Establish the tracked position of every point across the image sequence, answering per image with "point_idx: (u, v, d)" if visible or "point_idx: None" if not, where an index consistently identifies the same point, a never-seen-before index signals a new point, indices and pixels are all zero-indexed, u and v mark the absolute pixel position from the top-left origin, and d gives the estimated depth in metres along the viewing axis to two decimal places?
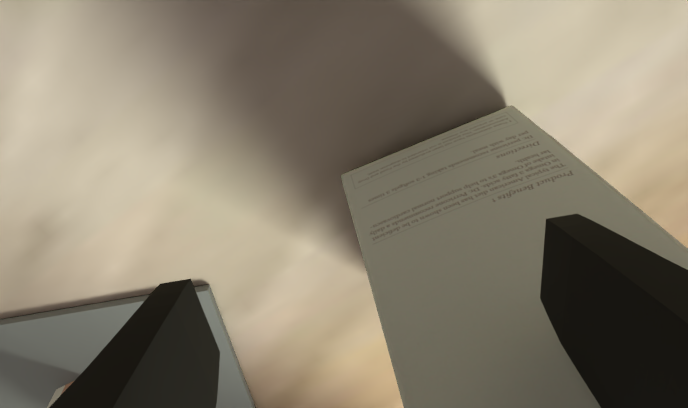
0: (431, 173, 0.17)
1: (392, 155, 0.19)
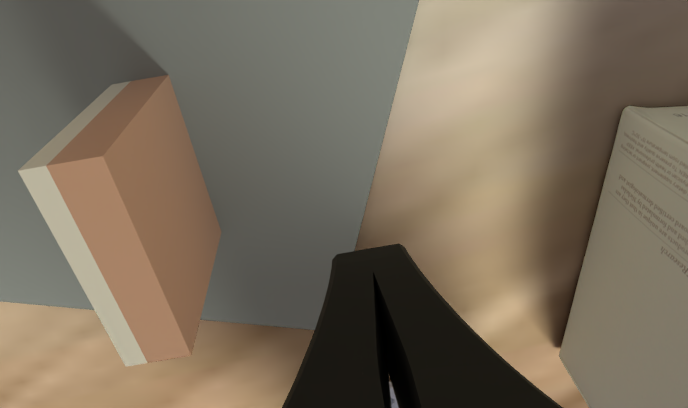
0: None
1: None
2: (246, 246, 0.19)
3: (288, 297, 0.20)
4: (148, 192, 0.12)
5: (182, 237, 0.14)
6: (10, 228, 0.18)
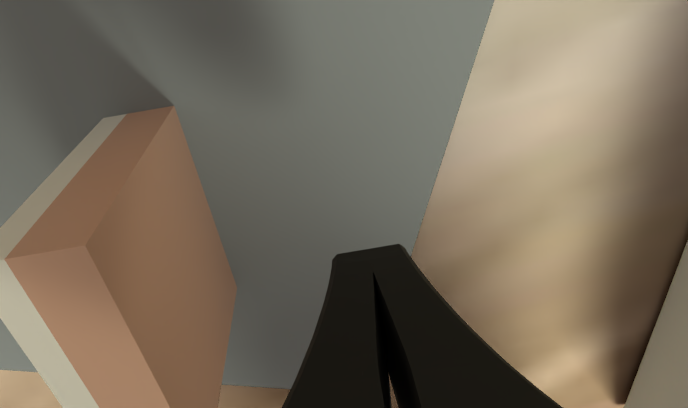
0: None
1: None
2: (267, 303, 0.16)
3: None
4: (149, 273, 0.09)
5: (193, 317, 0.11)
6: None
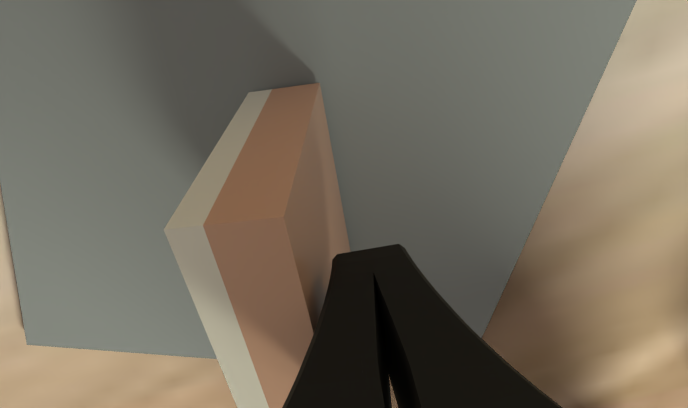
0: None
1: None
2: None
3: None
4: (314, 251, 0.09)
5: None
6: (104, 266, 0.15)
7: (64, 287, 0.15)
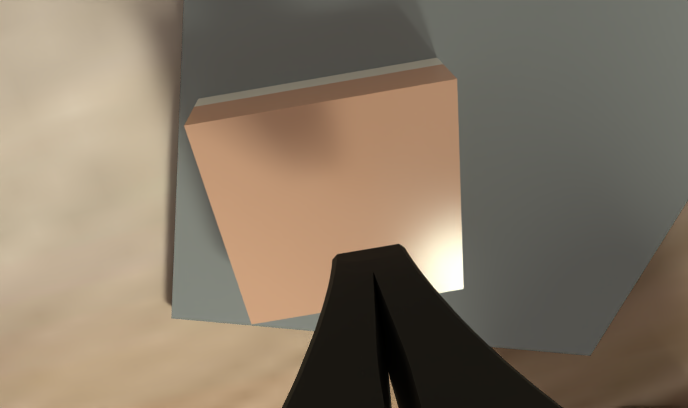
0: None
1: None
2: (528, 258, 0.16)
3: (554, 317, 0.17)
4: (265, 181, 0.12)
5: (318, 244, 0.13)
6: None
7: (219, 259, 0.15)
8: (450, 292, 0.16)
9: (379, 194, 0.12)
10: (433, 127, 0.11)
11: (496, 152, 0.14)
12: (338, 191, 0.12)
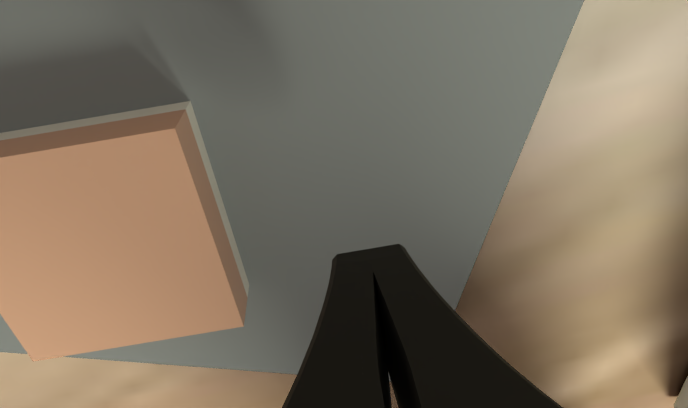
0: None
1: None
2: None
3: None
4: (5, 226, 0.12)
5: (79, 285, 0.13)
6: None
7: None
8: (263, 324, 0.16)
9: (127, 237, 0.12)
10: (164, 174, 0.11)
11: (276, 191, 0.14)
12: (84, 235, 0.12)
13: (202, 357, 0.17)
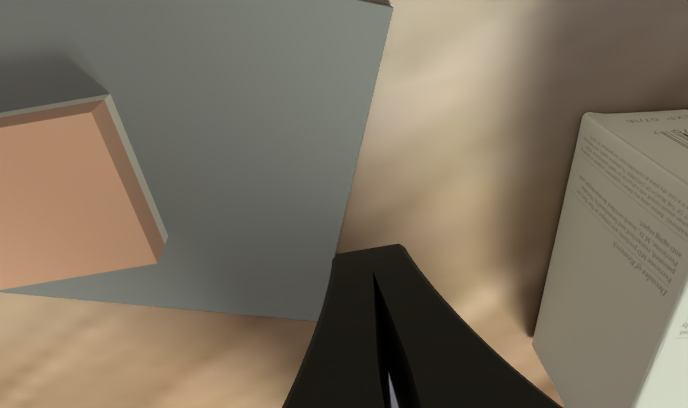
0: None
1: None
2: (237, 242, 0.20)
3: (276, 289, 0.22)
4: None
5: (31, 229, 0.17)
6: None
7: None
8: (182, 269, 0.21)
9: (64, 192, 0.17)
10: (86, 145, 0.16)
11: (180, 161, 0.18)
12: (32, 190, 0.17)
13: (137, 296, 0.21)
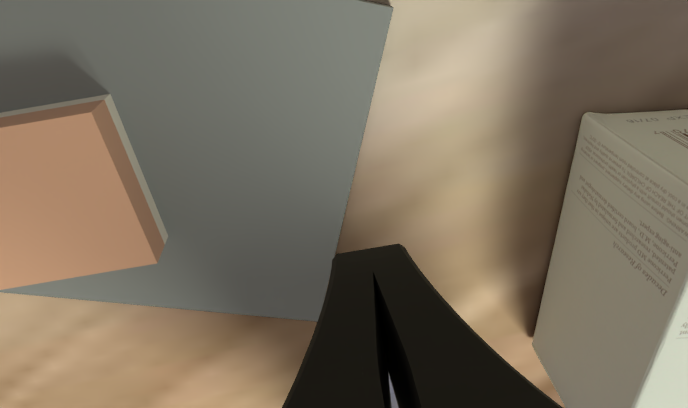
0: None
1: None
2: (237, 242, 0.20)
3: (276, 289, 0.22)
4: None
5: (31, 229, 0.17)
6: None
7: None
8: (182, 269, 0.21)
9: (64, 192, 0.17)
10: (86, 145, 0.16)
11: (180, 161, 0.18)
12: (32, 190, 0.17)
13: (137, 296, 0.21)
